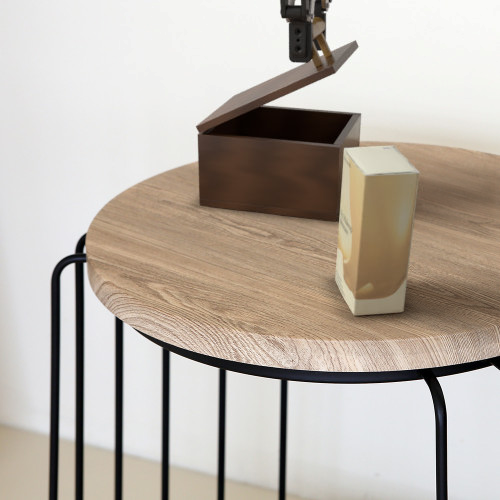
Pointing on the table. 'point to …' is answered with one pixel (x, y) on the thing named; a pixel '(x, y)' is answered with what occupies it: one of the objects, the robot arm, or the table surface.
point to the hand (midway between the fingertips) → (308, 54)
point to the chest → (277, 161)
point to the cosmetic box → (375, 228)
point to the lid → (284, 80)
